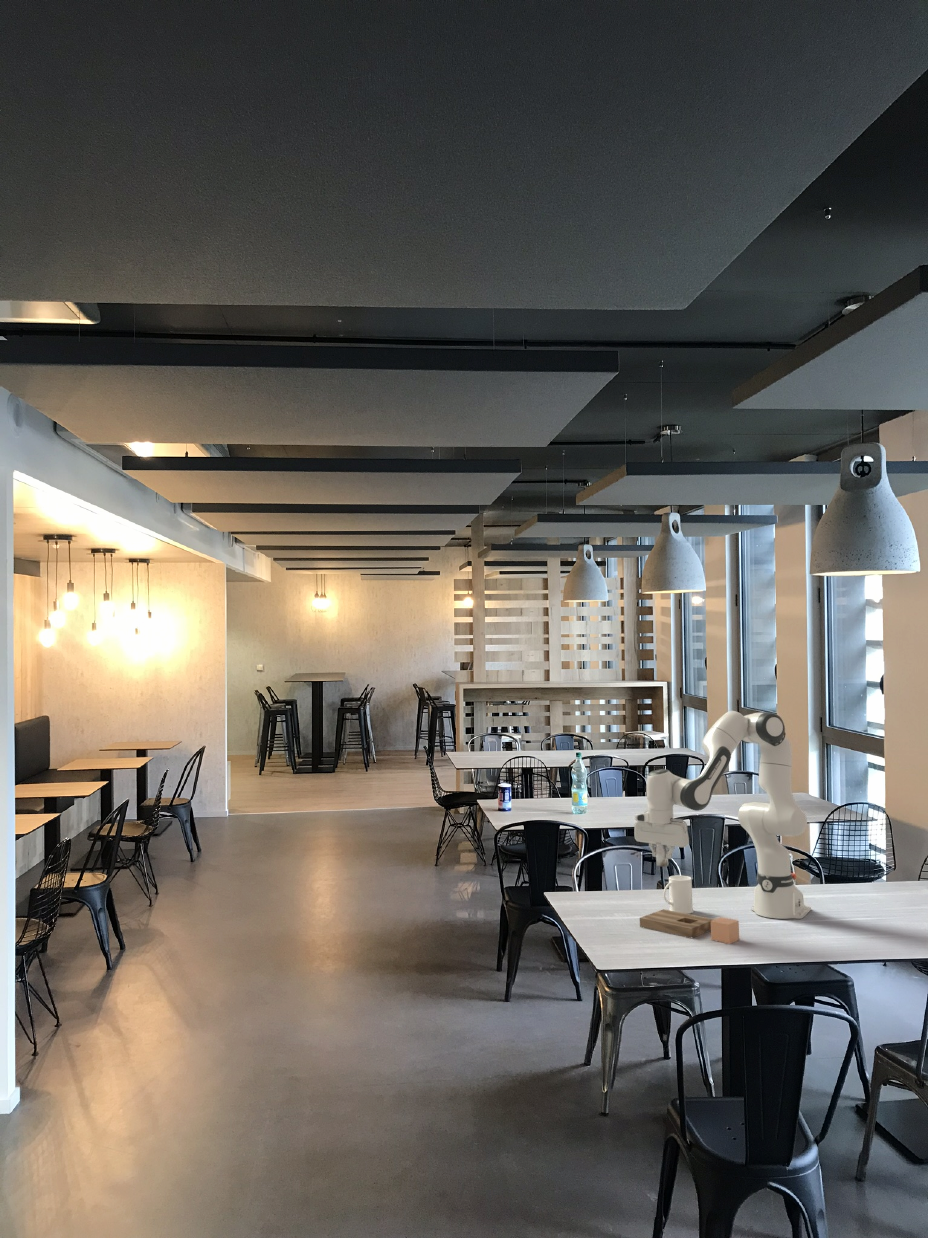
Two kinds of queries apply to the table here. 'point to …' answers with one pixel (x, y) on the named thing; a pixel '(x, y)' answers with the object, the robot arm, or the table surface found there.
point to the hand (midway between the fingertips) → (662, 857)
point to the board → (676, 923)
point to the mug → (680, 894)
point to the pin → (661, 855)
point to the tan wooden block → (725, 930)
